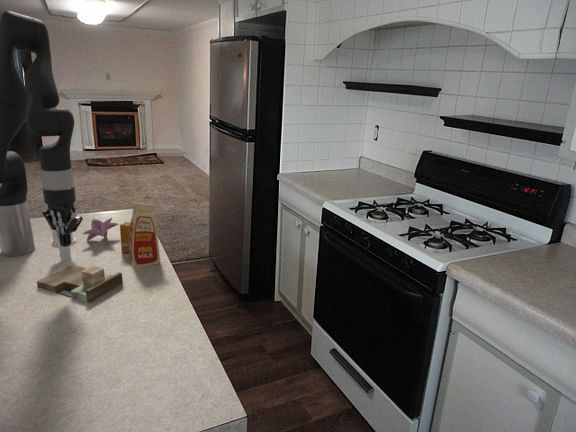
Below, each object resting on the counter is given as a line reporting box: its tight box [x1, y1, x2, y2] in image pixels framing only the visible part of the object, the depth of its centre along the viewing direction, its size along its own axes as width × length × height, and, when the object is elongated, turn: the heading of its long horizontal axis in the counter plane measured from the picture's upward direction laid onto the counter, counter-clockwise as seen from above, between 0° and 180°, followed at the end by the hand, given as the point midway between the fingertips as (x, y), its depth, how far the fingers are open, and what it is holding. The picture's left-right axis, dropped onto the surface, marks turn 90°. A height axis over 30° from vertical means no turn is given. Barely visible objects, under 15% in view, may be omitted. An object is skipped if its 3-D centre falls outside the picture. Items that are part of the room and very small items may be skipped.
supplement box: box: [119, 221, 131, 254], centre depth 144 cm, size 3×3×10 cm
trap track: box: [36, 264, 124, 304], centre depth 121 cm, size 20×12×4 cm, turn 67°
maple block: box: [81, 265, 105, 287], centre depth 118 cm, size 4×4×4 cm
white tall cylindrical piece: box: [47, 222, 77, 262], centre depth 135 cm, size 7×7×15 cm
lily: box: [82, 217, 119, 246], centre depth 151 cm, size 12×12×10 cm
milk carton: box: [129, 202, 161, 269], centre depth 136 cm, size 9×9×20 cm
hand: (65, 245), depth 118 cm, fingers closed
